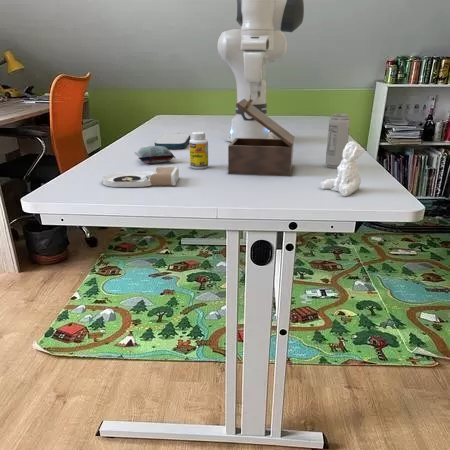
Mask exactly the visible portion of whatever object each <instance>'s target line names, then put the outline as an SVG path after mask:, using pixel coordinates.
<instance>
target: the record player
mask: <svg viewBox="0 0 450 450" xmlns="http://www.w3.org/2000/svg"><path fill="white" fill-rule="evenodd" d="M179 178H180V172H179V167H178V166H164V167H163V166H159V167H156V168H155V171H147V170H146V171H139V170H138V171H118V172H117V171H116V172H112V173H108V174H105V175H103V176H102V179H101V180H102V184H103V185H104V186H107V187H111V188H113V187H114V188H140V187H141V188H143V187H149V186H150V187H151V186H152V187H159V186H160V187H162V186H163V187H165V186H167V187H168V186H172V187H173V186H176V184H177V183H178V181H179Z"/></svg>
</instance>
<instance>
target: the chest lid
mask: <svg viewBox="0 0 450 450" xmlns="http://www.w3.org/2000/svg"><path fill="white" fill-rule="evenodd" d="M258 95H259V94H258ZM252 101H253V100H251V94H250V100H249V101H247V100H245V99H243V100H242V101H240V102H238V103H237V102H236V103H237V105H236V104H235V107H236V106H237V107H238V108H240V109H241V110H242V111H244V112H245V113H246V114H248V115H249V116H250V117H252V118H253V119H254V120H256V121H257V122H258V123H260V124H261V125H262V126H264V127H265V128H266V129H268V130H269V131H270V133H272V134H273V135H274V136H276V137H277V139H281V140H282V141H284V142H285V143H286V144H288V145H289V146H290V147H291V146H292V145H293V146H294V142H293V141H294V140H295V135H293V134H292V133H290V132H289V131H288V130H287V129H285V128H284V127H282V126H281V125H280V124H279V123H277V122H276V121H275V120H273V119H272V118H271V117H269V116H268V115H267V114H266V115H265V114H264V113H263V112H261V111H260V110H259V109H257V108H256V107H255V106H253V105H252V104H251V103H252Z"/></svg>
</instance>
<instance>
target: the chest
mask: <svg viewBox="0 0 450 450" xmlns="http://www.w3.org/2000/svg"><path fill="white" fill-rule="evenodd" d="M293 143H295V142H294V141H293ZM293 156H294V144H293V145H292V146H291V147H290V146H289V145H288V144H286V143H285V142H284V141H282V140H281V139H280V138H273V139H259V138H235V139H234V140H233V141H232V142H229V145H228V146H227V157H228V158H227V173H228V175H246V176H247V175H248V176H249V175H253V176H274V177H275V176H276V177H277V176H278V177H291V174H292V173H291V172H292V168H293V158H294V157H293Z"/></svg>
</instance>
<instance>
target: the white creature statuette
mask: <svg viewBox="0 0 450 450" xmlns="http://www.w3.org/2000/svg"><path fill="white" fill-rule="evenodd" d="M365 151H366V148H362V146H361V145H360V144H359V143H357V142H356V141H353V140H350V141H349V140H348V143H347V144H346V146H345V149H343V154H342V156H343V160H342V161H341V163H340V165H339V166H338V167H337V168H336V169H337V176H336V177H334V178H331V177H330V178H326V179H325V180H322V181H321V182H320V188H321V190H331V191H335V192H338V193H340V195H341V197H349V196H351V195H352V194H353V193H355V192H356V191H357V190H358V189H360V185H361V183H362V179H361V176H360V173H359V168H360V167H359V166H358V162H357V161H356V160H358V159H360V157H361V156H362V155H363V154H364V153H365Z"/></svg>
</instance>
